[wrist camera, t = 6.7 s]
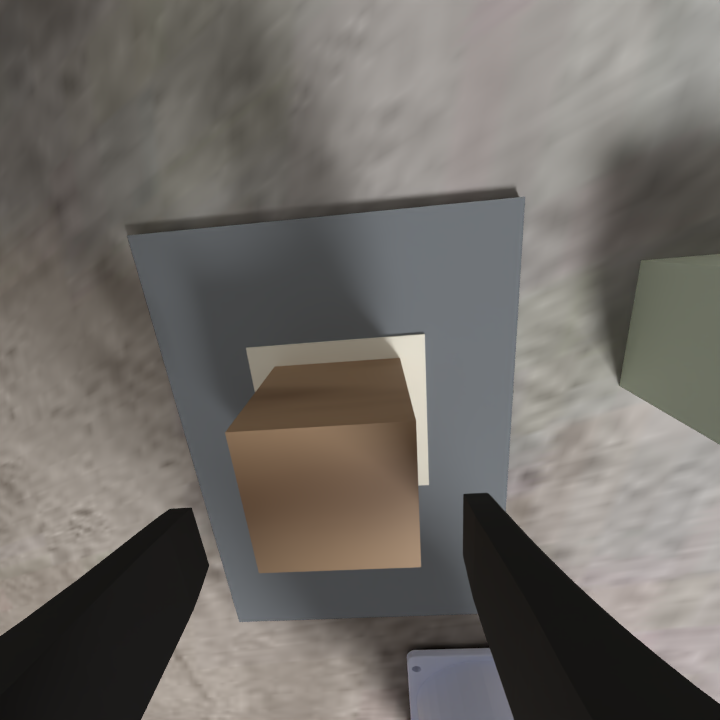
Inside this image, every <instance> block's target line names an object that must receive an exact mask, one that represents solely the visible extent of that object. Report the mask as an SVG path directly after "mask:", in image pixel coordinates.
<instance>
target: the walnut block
mask: <svg viewBox="0 0 720 720" xmlns="http://www.w3.org/2000/svg"><path fill="white" fill-rule="evenodd" d="M225 435H226V439H227V443H228V447H229V451H230V455H231V459H232V464H233V468H234V472H235V476H236V480H237V484H238V488H239V493H240V497H241V501H242V505H243V509H244V513H245V517H246V522H247V526H248V530H249V534H250V538H251V542H252V546H253V551H254V555H255V559H256V563H257V567H258V571H259V573H279V572H306V571H332V570H359V569H385V568H412V567H421V550H420V521H419V491H418V461H417V431H416V418H415V415H414V411H413V407H412V403H411V399H410V395H409V391H408V387H407V383H406V379H405V376H404V372H403V368H402V364H401V360H400V358H390V359H375V360H361V361H347V362H332V363H318V364H304V365H289V366H275V367H274V368H273V369H272V371H271V372H270V373H269V375H268V376H267V377H266V379H265V380H264V381H263V383H262V384H261V385H260V387H259V388H258V389H257V391H256V392H255V393H254V395H253V396H252V397H251V399H250V400H249V401H248V403H247V404H246V405H245V407H244V408H243V409H242V411H241V412H240V413H239V415H238V416H237V417H236V419H235V420H234V421H233V423H232V424H231V425H230V426H229V428H228V429H227V430H226V432H225Z"/></svg>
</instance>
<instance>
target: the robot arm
mask: <svg viewBox="0 0 720 720" xmlns="http://www.w3.org/2000/svg"><path fill="white" fill-rule="evenodd" d="M463 558H464V563H465V567H466V571H467V576H468V580H469V584H470V588H471V592H472V597H473V600H474V603H475V606H476V609H477V612H478V615H479V618H480V621H481V624H482V627H483V630H484V633H485V636H486V639H487V642H488V645H489V648H466V649H431V650H412V651H410V652H409V653H408V654H407V670H408V686H409V701H410V716H411V720H720V704H719V703H718V702H716V701H715V700H714V699H712V698H711V697H710V696H708V695H707V694H706V693H704V692H703V691H702V690H700V689H699V688H698V687H696V686H695V685H694V684H692V683H691V682H690V681H689V680H687V679H686V678H685V677H684V676H682V675H681V674H680V673H679V672H677V671H676V670H675V669H674V668H672V667H671V666H670V665H669V664H667V663H666V662H665V661H664V660H662V659H661V658H660V657H659V656H657V655H656V654H655V653H654V652H653V651H651V650H650V649H649V648H648V647H647V646H645V645H644V644H643V643H642V642H641V641H639V640H638V639H637V638H636V637H635V636H633V635H632V634H631V633H630V632H629V631H628V630H626V629H625V628H624V627H623V626H622V625H621V624H619V623H618V622H617V621H616V620H615V619H614V618H613V617H612V616H610V615H609V614H608V613H607V612H606V611H605V610H604V609H603V608H601V607H600V606H599V605H598V604H597V603H596V602H595V601H594V600H593V599H592V598H591V597H589V596H588V595H587V594H586V593H585V592H584V591H583V590H582V589H581V588H580V587H579V586H578V585H576V584H575V583H574V582H573V581H572V580H571V579H570V578H569V577H568V576H567V575H566V574H565V573H564V572H563V571H562V570H561V569H560V568H559V567H558V566H557V565H556V564H555V563H554V562H553V561H552V560H551V559H550V558H549V557H548V556H547V555H546V554H545V553H544V552H543V551H542V550H541V549H540V548H539V547H538V546H537V545H536V544H535V543H534V542H533V541H532V540H531V539H530V538H529V537H528V536H527V535H526V534H525V532H524V531H523V530H522V529H521V528H520V527H519V526H518V525H517V524H516V523H515V522H514V521H513V520H512V518H511V517H510V516H509V515H508V514H507V513H506V512H505V511H504V510H503V508H502V507H501V506H500V505H499V504H498V503H497V502H496V501H495V499H494V498H493V497H492V496H491V495H490V494H489V493H471V494H463ZM208 567H209V563H208V560H207V557H206V554H205V550H204V547H203V544H202V540H201V537H200V534H199V530H198V527H197V524H196V521H195V517H194V514H193V511H192V508H178V509H169V510H168V511H166V512H165V513H163V514H162V515H161V516H159V517H158V518H156V519H155V520H154V521H152V522H151V523H150V524H149V525H147V526H146V527H145V528H143V529H142V530H141V531H140V532H138V533H137V534H136V535H134V536H133V537H132V538H131V539H129V540H128V541H127V542H125V543H124V544H123V545H122V546H120V547H119V548H118V549H117V550H115V551H114V552H113V553H111V554H110V555H109V556H108V557H106V558H105V559H104V560H102V561H101V562H100V563H99V564H97V565H96V566H95V567H93V568H92V569H91V570H90V571H88V572H87V573H86V574H85V575H83V576H82V577H81V578H79V579H78V580H77V581H75V582H74V583H73V584H71V585H70V586H69V587H67V588H66V589H65V590H63V591H62V592H60V593H59V594H58V595H56V596H55V597H54V598H52V599H51V600H50V601H48V602H47V603H46V604H44V605H43V606H42V607H40V608H39V609H37V610H36V611H35V612H33V613H32V614H31V615H29V616H28V617H27V618H25V619H24V620H23V621H21V622H20V623H18V624H17V625H15V626H14V627H13V628H11V629H10V630H8V631H7V632H6V633H4V634H3V635H1V636H0V720H141V718H142V716H143V714H144V712H145V710H146V708H147V706H148V704H149V702H150V700H151V698H152V696H153V694H154V691H155V689H156V687H157V685H158V683H159V681H160V679H161V677H162V675H163V673H164V671H165V669H166V667H167V665H168V662H169V660H170V658H171V656H172V654H173V652H174V650H175V648H176V646H177V644H178V642H179V640H180V637H181V635H182V633H183V631H184V629H185V627H186V625H187V623H188V621H189V618H190V616H191V614H192V612H193V610H194V607H195V605H196V602H197V599H198V596H199V594H200V591H201V588H202V585H203V582H204V579H205V576H206V573H207V570H208Z"/></svg>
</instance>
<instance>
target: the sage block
mask: <svg viewBox="0 0 720 720" xmlns="http://www.w3.org/2000/svg"><path fill="white" fill-rule="evenodd" d="M619 386H621V387H622V388H624V389H626V390H627V391H629V392H631V393H632V394H634V395H636V396H638V397H639V398H641V399H643V400H644V401H646V402H648V403H650V404H651V405H653V406H655V407H656V408H658V409H660V410H662V411H663V412H665V413H667V414H668V415H670V416H672V417H674V418H675V419H677V420H679V421H680V422H682V423H684V424H685V425H687V426H689V427H691V428H692V429H694V430H696V431H697V432H699V433H701V434H703V435H704V436H706V437H708V438H709V439H711V440H713V441H715V442H716V443H718V444H720V254H712V255H700V256H688V257H676V258H665V259H653V260H641V264H640V269H639V275H638V281H637V287H636V292H635V298H634V304H633V310H632V315H631V321H630V327H629V333H628V338H627V344H626V350H625V356H624V361H623V367H622V373H621V379H620V384H619Z"/></svg>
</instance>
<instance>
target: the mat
mask: <svg viewBox="0 0 720 720" xmlns="http://www.w3.org/2000/svg"><path fill="white" fill-rule="evenodd" d="M524 208H525V197H516V198H506V199H496V200H486V201H475V202H465V203H455V204H445V205H434V206H424V207H414V208H404V209H394V210H383V211H373V212H363V213H353V214H342V215H332V216H322V217H312V218H302V219H291V220H281V221H271V222H261V223H250V224H240V225H230V226H220V227H209V228H199V229H189V230H179V231H169V232H158V233H148V234H138V235H128V236H127V237H128V241H129V244H130V248H131V251H132V254H133V258H134V261H135V265H136V268H137V272H138V275H139V279H140V282H141V285H142V289H143V292H144V296H145V299H146V303H147V306H148V309H149V313H150V316H151V320H152V323H153V327H154V330H155V333H156V337H157V340H158V344H159V347H160V351H161V354H162V358H163V361H164V364H165V368H166V371H167V375H168V378H169V382H170V385H171V388H172V392H173V395H174V399H175V402H176V406H177V409H178V413H179V416H180V419H181V423H182V426H183V430H184V433H185V437H186V440H187V443H188V447H189V450H190V454H191V457H192V461H193V464H194V468H195V471H196V474H197V478H198V481H199V485H200V488H201V492H202V495H203V498H204V502H205V505H206V509H207V512H208V516H209V519H210V523H211V526H212V529H213V533H214V536H215V540H216V543H217V547H218V550H219V553H220V557H221V560H222V564H223V567H224V571H225V574H226V578H227V581H228V584H229V588H230V591H231V595H232V598H233V602H234V605H235V608H236V612H237V615H238V619H239V622H251V621H280V620H310V619H339V618H369V617H399V616H428V615H458V614H478V612H477V609H476V606H475V603H474V600H473V597H472V592H471V588H470V584H469V580H468V576H467V571H466V567H465V563H464V558H463V494H471V493H489V494H490V495H491V496H492V497H493V498H494V499H495V501H496V502H497V503H498V504H499V505H500V506H501V507H502V508H503V510H504V511H505V512H506V497H507V480H508V464H509V448H510V432H511V416H512V400H513V384H514V368H515V352H516V336H517V320H518V304H519V288H520V272H521V256H522V240H523V224H524ZM390 358H400V360H401V364H402V368H403V372H404V376H405V379H406V383H407V387H408V391H409V395H410V399H411V403H412V407H413V411H414V415H415V418H416V431H417V461H418V491H419V521H420V550H421V567H412V568H385V569H359V570H332V571H306V572H279V573H259V571H258V567H257V563H256V559H255V555H254V551H253V546H252V542H251V538H250V534H249V530H248V526H247V522H246V517H245V513H244V509H243V505H242V501H241V497H240V493H239V488H238V484H237V480H236V476H235V472H234V468H233V464H232V459H231V455H230V451H229V447H228V443H227V439H226V435H225V432H226V430H227V429H228V428H229V426H230V425H231V424H232V423H233V421H234V420H235V419H236V417H237V416H238V415H239V413H240V412H241V411H242V409H243V408H244V407H245V405H246V404H247V403H248V401H249V400H250V399H251V397H252V396H253V395H254V393H255V392H256V391H257V389H258V388H259V387H260V385H261V384H262V383H263V381H264V380H265V379H266V377H267V376H268V375H269V373H270V372H271V371H272V369H273V368H274V367H275V366H289V365H304V364H318V363H332V362H347V361H361V360H375V359H390Z"/></svg>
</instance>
